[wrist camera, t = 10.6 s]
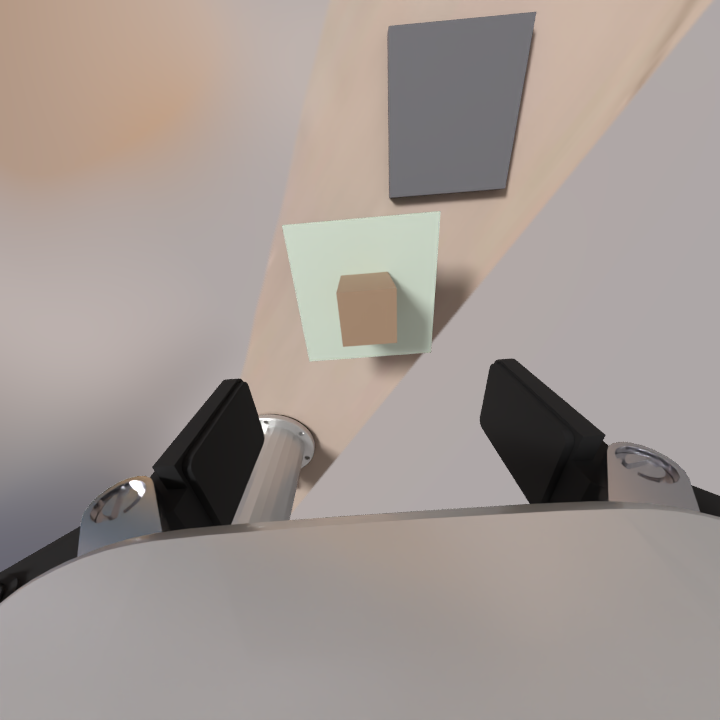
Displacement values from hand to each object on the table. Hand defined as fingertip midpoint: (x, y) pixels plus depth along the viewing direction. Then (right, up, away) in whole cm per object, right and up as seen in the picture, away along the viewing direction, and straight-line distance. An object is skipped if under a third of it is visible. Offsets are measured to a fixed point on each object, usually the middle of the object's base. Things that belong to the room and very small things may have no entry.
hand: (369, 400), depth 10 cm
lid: (0, +7, +11) cm, 14 cm away
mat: (+8, +23, +13) cm, 27 cm away
